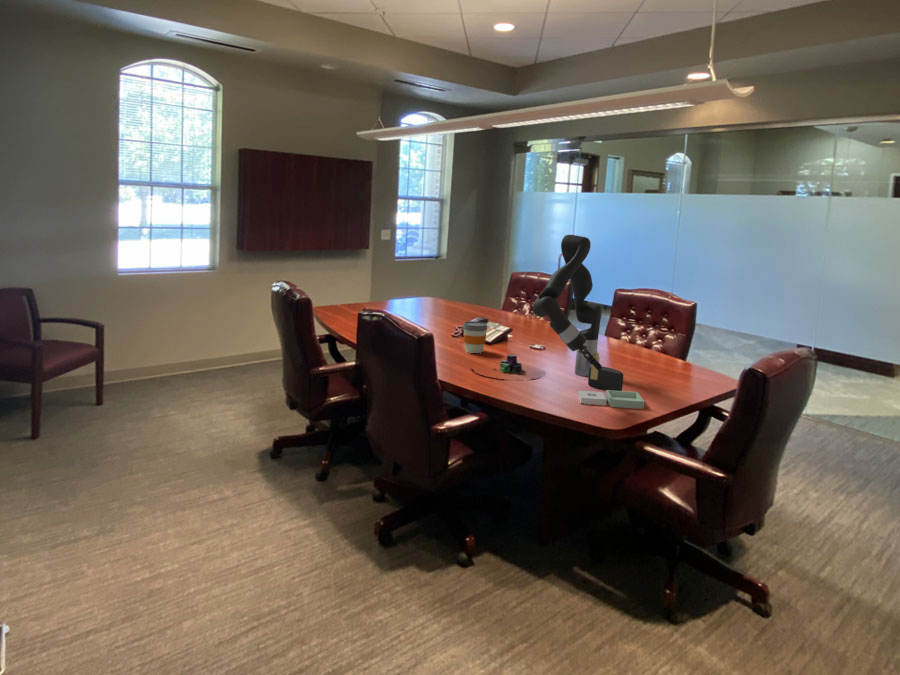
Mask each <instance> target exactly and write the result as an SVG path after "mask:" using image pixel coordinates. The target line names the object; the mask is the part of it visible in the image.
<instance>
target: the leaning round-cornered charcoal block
mask: <svg viewBox="0 0 900 675" xmlns="http://www.w3.org/2000/svg"><path fill="white" fill-rule="evenodd" d="M590 376H591V367H590V368H589V376H588V380H587V384H588V385H589V387H591V388H594V387H595V389H598V390H602V391H606V390H613V391H623V385H624V373H623V372H622V371H620V370H617V369H615V368H611V367H607V366H602V369H600V370H599V371H598V377H597V380H594V379H591V378H590Z"/></svg>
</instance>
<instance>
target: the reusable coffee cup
mask: <svg viewBox="0 0 900 675" xmlns="http://www.w3.org/2000/svg"><path fill="white" fill-rule="evenodd" d="M462 329H463V335H462V336H463V343H464V349H465V351H466V352H465V353H467V352H470V353H469V354H471V353H480V354H482V353H483V351H484V345H485V344H486V340H487V331H488V324H487V323H486V322H483V321H477V320H476V321H464V322H463V326H462ZM481 352H482V353H481Z"/></svg>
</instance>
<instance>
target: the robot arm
mask: <svg viewBox="0 0 900 675" xmlns="http://www.w3.org/2000/svg"><path fill="white" fill-rule="evenodd" d="M560 250H561V254H562V255H561V256H562V257H563V260H564V263H565V264H564V265H562V266H561V267H560V268H557V269H556V270H555V271H554V273H552V275H551V276H550V278H549V280H548V281H547V283H546V285H545V287H544V288H543V290H542V291H541V292H540V293H539V295H538V296H537V298H536V299H535V301H534V303H533V304H532V305H533V306H532V311H533V313H534V315H535V316H536V317H540V318H543V317H547V316H548V318H549V319H550V321H549V326H550V328H551V329H552V330H553V331H554V333H556V334H557V335H558V337H559V339H560V340H561V342H563V343H564V344H565V345H566V347H568V349H569V350H570V351H571V352H575V351H576V355H575V367H574V368H575V369H574V374H576V375H578V376H581V377H589V368H590V367H591V366H592V364H593V366H594V367H595V368H596V369H597V370H598V371H599V370H600V369H602V367H603V366H602V365H601V363H600V362H599V363H598V362H597V360H596V359H595V358H594V357H593V356H594V351H597V352H598V344H599V343H598V342H599V335H600V327H601V320H602V313H603V312H602V306H601V305H600V304H594V303H586V301H585V300H586V298H587V297H588V296H589V295H590V294H591V291H592V290H593V281H592V280H593V279H592V275H591V273H590V270H589V269H588V268H587V267H586V266H585V265H584V264H583V262H584V261H585V259H586V258H587V257H588V255H589V253H590V251H591V239H589V238H588V237H586V236H581V235H576V234H566V235H564V236H563V238H562V240H561V243H560ZM569 282H570V287H571V290H572V295H573V299H574V307H575V308H574V309H575V315H576V320H577V321H578V322H579V323H581V324H588V325H589V324H590V327H589V328H586V329H582V330H581V329H580V330H579V329H578V327H576V325H574V324H573V323H572V322H571V321H570V320H569V319H568V318H567V317H566V316H565V314H564V312H563V310H562V308H561V307H560V304H559V303H558V301H557V299H559V298H560V296H562V293H563V292H564V290H565V288H566V286H567V284H568V283H569ZM592 359H593V360H592Z"/></svg>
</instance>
